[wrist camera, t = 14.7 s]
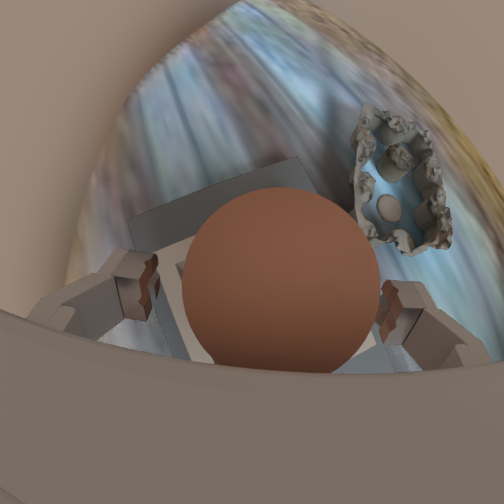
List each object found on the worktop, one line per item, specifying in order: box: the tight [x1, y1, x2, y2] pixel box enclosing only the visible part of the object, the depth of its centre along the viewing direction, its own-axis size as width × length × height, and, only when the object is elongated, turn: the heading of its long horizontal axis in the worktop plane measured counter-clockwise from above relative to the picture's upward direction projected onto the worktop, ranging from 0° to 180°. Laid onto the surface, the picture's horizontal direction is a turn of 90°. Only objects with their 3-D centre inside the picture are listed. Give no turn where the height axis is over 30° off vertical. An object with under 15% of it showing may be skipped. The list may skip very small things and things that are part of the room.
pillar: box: [182, 187, 380, 373], centre depth 12 cm, size 5×5×10 cm
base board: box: [127, 156, 394, 374], centre depth 16 cm, size 12×16×4 cm
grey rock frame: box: [348, 102, 453, 257], centre depth 19 cm, size 11×8×4 cm
